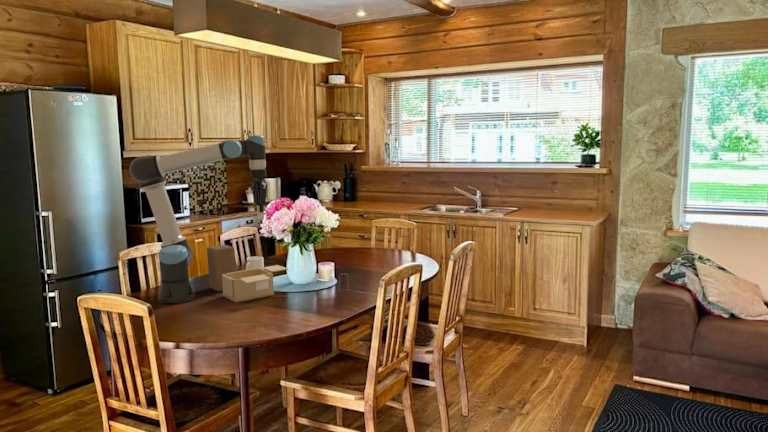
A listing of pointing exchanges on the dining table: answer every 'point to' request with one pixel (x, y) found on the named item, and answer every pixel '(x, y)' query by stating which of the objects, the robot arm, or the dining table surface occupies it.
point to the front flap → (254, 279)
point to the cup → (254, 263)
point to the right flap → (275, 268)
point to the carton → (246, 285)
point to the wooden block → (220, 264)
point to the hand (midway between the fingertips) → (260, 218)
